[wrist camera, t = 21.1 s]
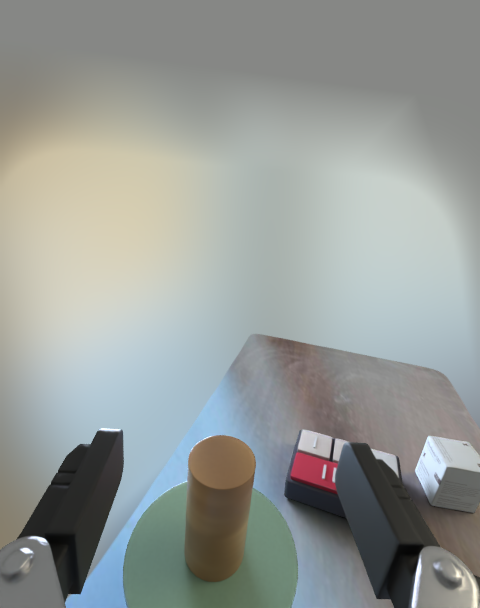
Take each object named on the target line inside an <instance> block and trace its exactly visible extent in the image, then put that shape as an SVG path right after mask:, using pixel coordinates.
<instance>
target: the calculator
mask: <svg viewBox="0 0 480 608" xmlns="http://www.w3.org/2000/svg"><path fill="white" fill-rule="evenodd" d="M345 442H348V441H344V440H341V439H333V438H332V437H330V436H326V435H322V434H319V433H315V432H311V431H308V430H300V431H299V435H298V438H297V442H296V445H295V449H294V452H293V456H292V459H291V463H290V466H289V470H288V473H287V477H286V483H285V493H284V495H285V496H286V497H287V498H290V499H293V500H296V501H299V502H301V503H304V504H307V505H310V506H313V507H316V508H319V509H322V510H325V511H327V512H330V513H333V514H336V515H339V516H342V517H345V518H346V515H345V512H344V510H343V507H342V504H341V502H340V499H339V496H338V493H337V490H336V485H335V474H336V470H337V466H338V462H339V459H340V455H341V451H342V448H343V445H344V443H345ZM371 450H372V452H373V454H374V456H375V457H376V459H382V460H383V461H384V462H385V463H386V464H387V465H388V466H389V467H391V468H392V469H393V470H394V471H395V473H396V474H397V476H398V478H399V479H400V481H401V483H402V477H401V470H400V463H399V458H398V457H397V456H395V455H392V454H388V453H385V452H381V451H377V450H374V449H371Z"/></svg>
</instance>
